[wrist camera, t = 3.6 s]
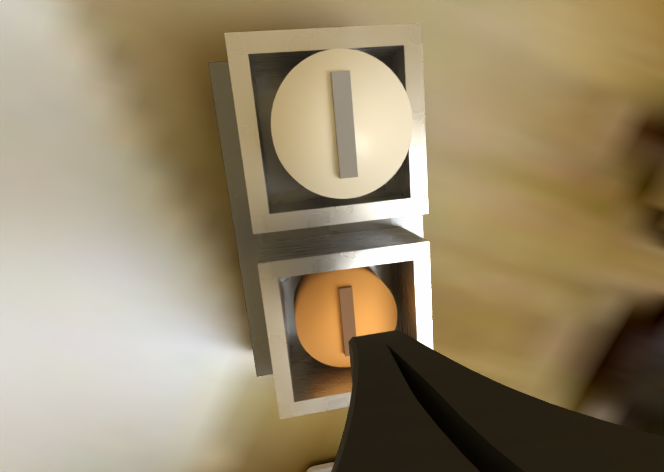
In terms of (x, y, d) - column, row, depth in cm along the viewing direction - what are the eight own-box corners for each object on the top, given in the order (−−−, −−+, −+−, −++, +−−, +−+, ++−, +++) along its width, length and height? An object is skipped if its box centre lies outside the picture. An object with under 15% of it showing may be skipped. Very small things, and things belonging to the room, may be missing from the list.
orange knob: (385, 335, 16) (401, 360, 14) (299, 349, 16) (302, 377, 14) (380, 251, 16) (396, 265, 13) (288, 263, 15) (290, 280, 13)
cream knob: (394, 186, 13) (418, 191, 10) (280, 198, 12) (280, 207, 10) (387, 63, 12) (412, 42, 10) (264, 71, 11) (260, 50, 9)
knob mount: (412, 328, 19) (458, 386, 14) (259, 353, 18) (252, 424, 13) (399, 63, 16) (452, 21, 11) (217, 75, 15) (188, 34, 10)
